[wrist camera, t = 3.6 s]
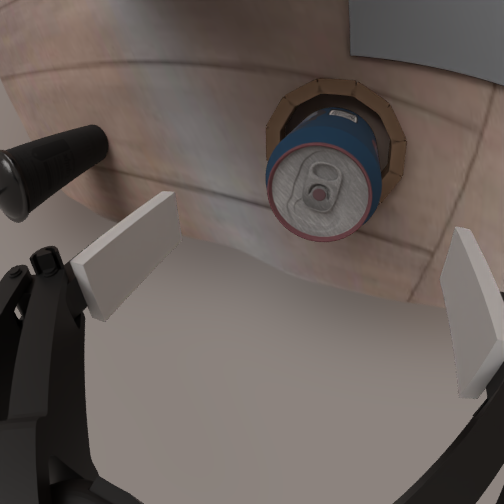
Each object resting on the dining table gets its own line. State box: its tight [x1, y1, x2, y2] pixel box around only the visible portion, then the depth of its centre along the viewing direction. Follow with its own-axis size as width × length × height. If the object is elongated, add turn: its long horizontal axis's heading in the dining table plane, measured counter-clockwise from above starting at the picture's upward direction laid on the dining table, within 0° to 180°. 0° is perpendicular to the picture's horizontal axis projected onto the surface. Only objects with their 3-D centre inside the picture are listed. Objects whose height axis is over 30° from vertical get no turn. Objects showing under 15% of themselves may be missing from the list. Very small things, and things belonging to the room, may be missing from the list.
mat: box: [349, 0, 504, 86], centre depth 16 cm, size 14×12×1 cm
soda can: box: [266, 107, 382, 242], centre depth 21 cm, size 7×7×12 cm
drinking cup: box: [0, 125, 108, 223], centre depth 26 cm, size 8×8×20 cm
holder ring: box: [266, 78, 407, 205], centre depth 25 cm, size 12×12×2 cm
